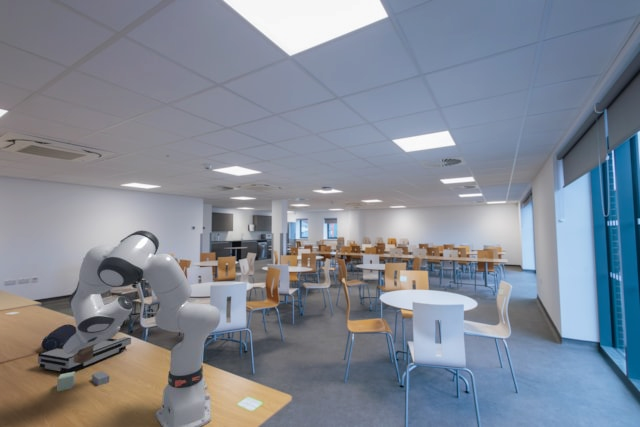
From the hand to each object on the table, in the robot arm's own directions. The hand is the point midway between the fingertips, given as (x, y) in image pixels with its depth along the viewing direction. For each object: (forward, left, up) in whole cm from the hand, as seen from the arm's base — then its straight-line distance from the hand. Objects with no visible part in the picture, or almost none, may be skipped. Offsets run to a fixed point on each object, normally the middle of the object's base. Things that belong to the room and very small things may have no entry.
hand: (82, 349), depth 120 cm
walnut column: (0, 0, -4) cm, 4 cm away
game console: (+38, +2, -17) cm, 42 cm away
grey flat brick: (+6, -6, -17) cm, 19 cm away
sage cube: (+8, +6, -17) cm, 19 cm away
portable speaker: (+71, +19, -17) cm, 76 cm away
